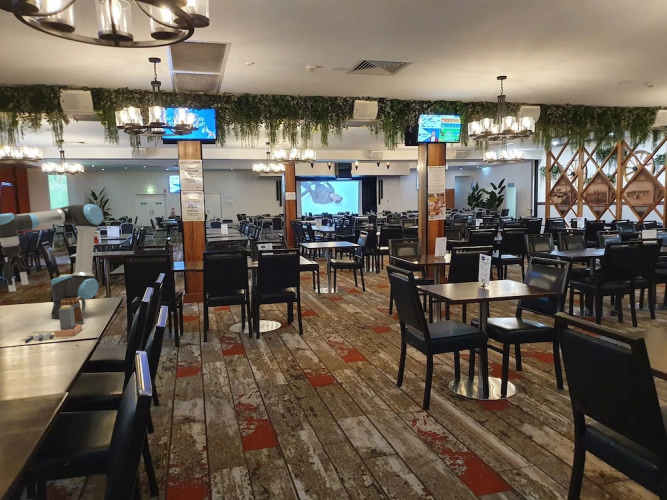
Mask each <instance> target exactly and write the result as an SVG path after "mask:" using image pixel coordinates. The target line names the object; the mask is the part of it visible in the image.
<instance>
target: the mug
mask: <svg viewBox="0 0 667 500" xmlns="http://www.w3.org/2000/svg"><path fill="white" fill-rule="evenodd" d="M80 301H81V302H80ZM86 303H87V302H86V299H84V297H77V298H70V299H69V298H67V299H63V300H61V307H62V306H67V305H71V307H73V308H74V317H75V325H79V324H82V325H84V324H85V318H83V315H84V314H85V310H86V308H87V307H86V306H87V305H86Z"/></svg>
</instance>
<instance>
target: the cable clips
mask: <svg viewBox="0 0 667 500" xmlns="http://www.w3.org/2000/svg"><path fill="white" fill-rule="evenodd" d="M50 336H51V332H48V333H45V334H44V335H43V333H38V334H37V335H35V336H34V337H35V341H34V342H40V341H39V338H41V337H43V340H44V341H49V340H48V338H49V337H50Z"/></svg>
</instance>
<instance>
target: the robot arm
mask: <svg viewBox="0 0 667 500" xmlns="http://www.w3.org/2000/svg"><path fill="white" fill-rule="evenodd" d="M103 221H104V214H103V211H102V209H101V208H100V207H99V206H98V205H96V204H91V203H86V204H85V203H84V204H71V205H67V206H62V207H56V208H54V209H53V210H45V211H44V210H43V211H37V212H29V213H27V212H25V213H19V214H17V213H16V214H14V213H12V212H8V213H0V246H1V251H2V255H4V256H5V255H6V257H3V258H2V259H3V276H2V278H3V279H4V280H5V279H6V281H7V287H8V288H7V289H8V292H10V293H11V292H16V291H17V288H16V282H15V278H14V277H13V274H14V270H15V269H14V268H15V267H17V269H18V270H19V276H20V282H21V285H22V286H27V285H29V279H28V275H27V272H29V267H28V265H27V263H26V261H25V259H24V257H23V253H22V250H21V245H20V238H19V234H18V233H19V232H23V231H29V230H31V231H32V230H34V229H37V228H38V227H40V226H41V227H42V226H49V225H55V224H56V226H62V225H73V226H74V227H75V228H76V230H77V237H76V250H75V251H76V253H75V267H74V272H73V273H72V274H71V275H65V276H60V277H55V278H52V279H51V282H50V283H51V294H52V301H53V302H52V303H53V305H52V309H51V313H50V316H51V319H53V320H60V319H59V309H61V308H60V307H61V300H63V299H67V298H69V299H70V298H77V297H84V299H85V300H89V299H92V298H94V296H96V295H97V294H98V291H99V283H98V280H97V279H95V274H94V273H93V259H94V246H95V245H94V244H95V233H96V231H98V229H99V225H100V224H101V223H102V222H103Z"/></svg>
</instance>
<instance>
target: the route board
mask: <svg viewBox="0 0 667 500" xmlns="http://www.w3.org/2000/svg"><path fill="white" fill-rule="evenodd" d="M84 329H85V327H82V331H83V330H84ZM58 330H59V329H55V330H40V331H33V332H32V333H30V334H28V335H27V336H25V337H24V338H22V339H20V340H18V342H17V343H26V342H25V340H26V339H28V338H30V337H31V336H33V337H34V336H35V335H37V334H38V333H43V335H44V334H45V333H48V332H51V335H54V337H53V338H52V339H50V338H48V340H47V341H55V340H67V339H73V338H74V337H75V336H66V337H55V332H54V331H58ZM82 331H80V332H79V333H81V332H82ZM42 341H43V342H44V341H45V340H41V341H40V342H42ZM29 342H31V343H32V342H36V341H35V337H34V338H33V339H32V340H30V341H29Z"/></svg>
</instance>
